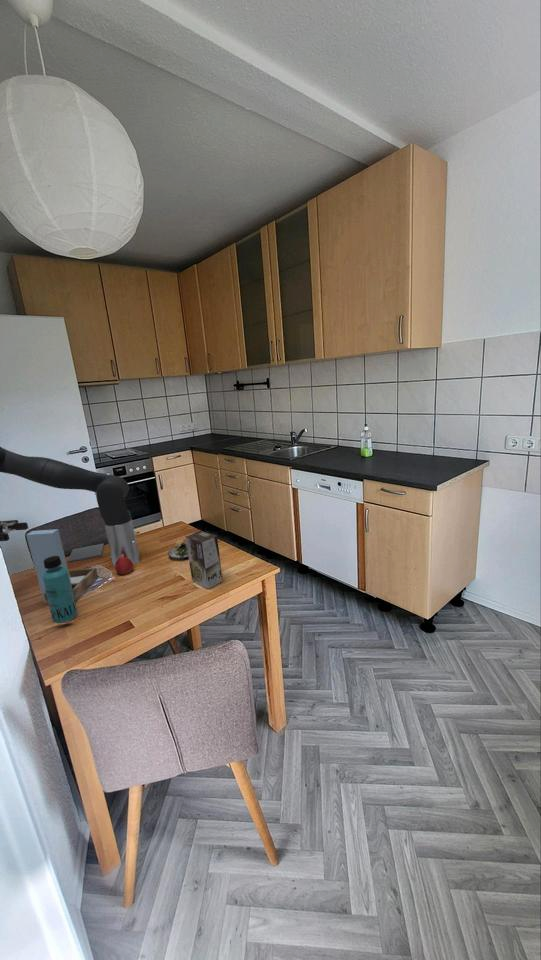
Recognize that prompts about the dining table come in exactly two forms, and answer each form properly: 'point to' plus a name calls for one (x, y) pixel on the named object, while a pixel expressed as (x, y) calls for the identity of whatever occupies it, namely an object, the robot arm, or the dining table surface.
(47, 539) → the board
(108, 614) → the dining table surface
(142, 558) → the dining table surface
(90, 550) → the mat
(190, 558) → the coffee box
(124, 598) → the dining table surface
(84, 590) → the rack
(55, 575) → the beverage bottle
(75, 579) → the offcut
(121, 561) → the pomegranate
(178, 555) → the burger
